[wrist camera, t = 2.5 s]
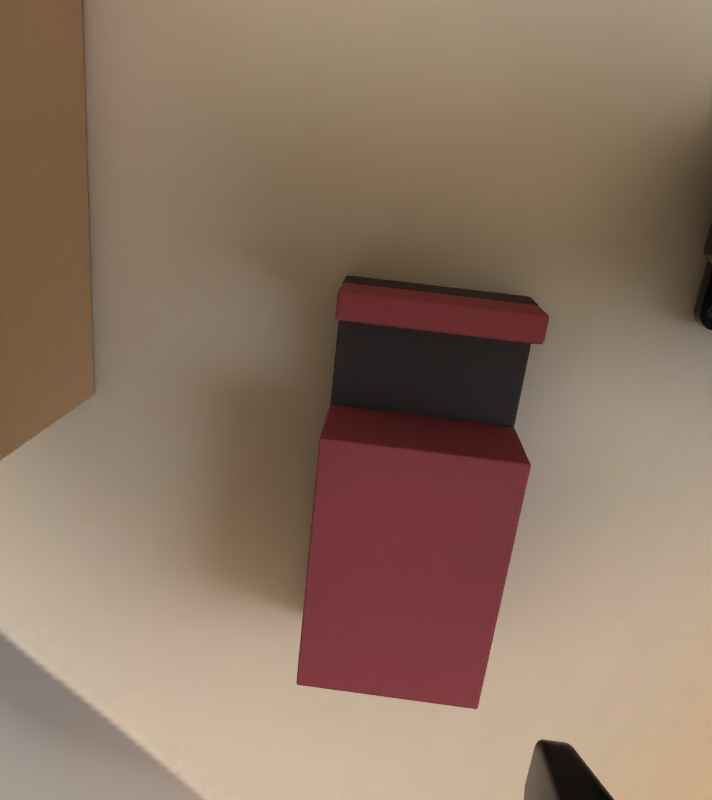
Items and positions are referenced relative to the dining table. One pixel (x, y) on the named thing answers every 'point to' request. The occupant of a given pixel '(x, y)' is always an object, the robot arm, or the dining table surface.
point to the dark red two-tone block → (416, 490)
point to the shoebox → (43, 219)
